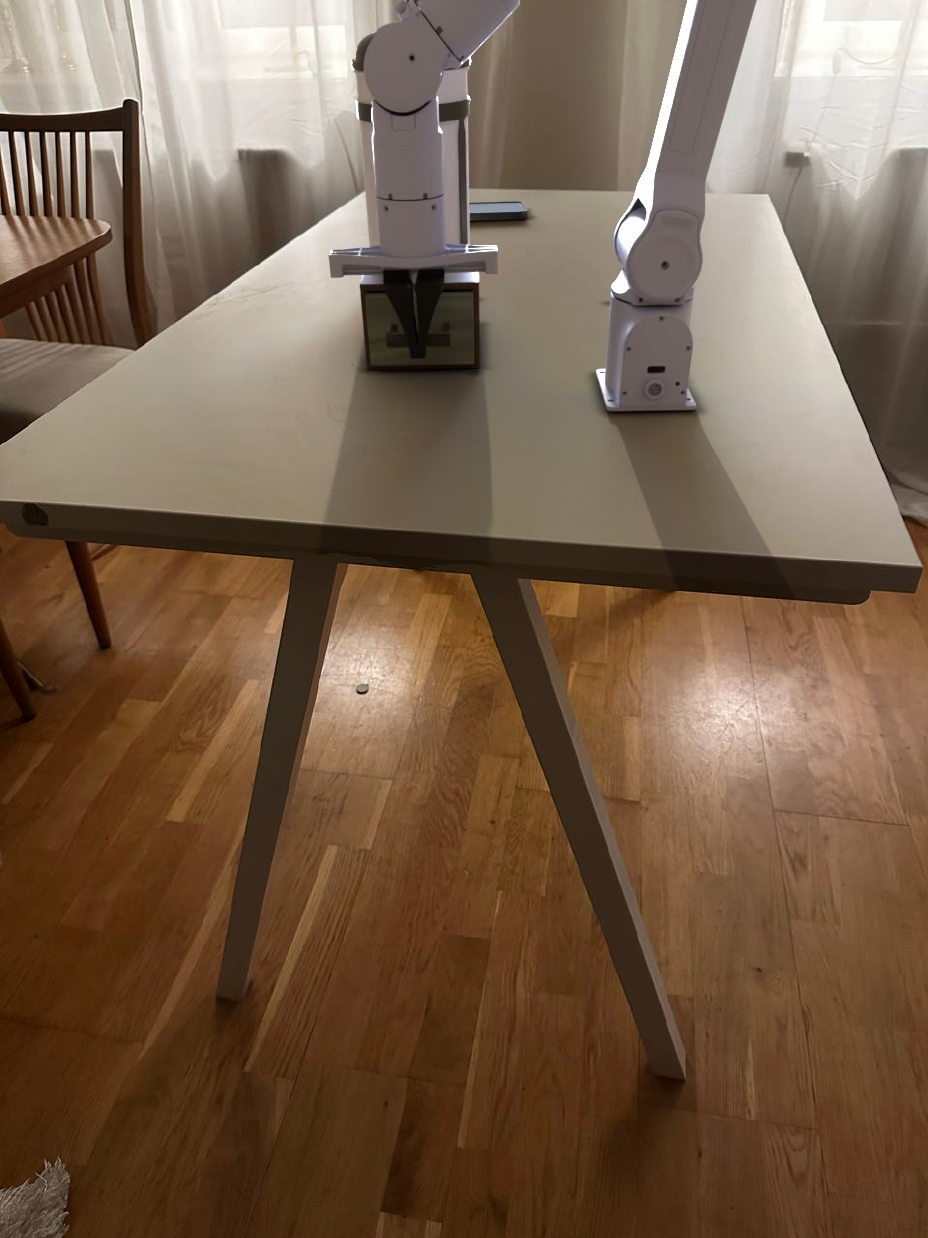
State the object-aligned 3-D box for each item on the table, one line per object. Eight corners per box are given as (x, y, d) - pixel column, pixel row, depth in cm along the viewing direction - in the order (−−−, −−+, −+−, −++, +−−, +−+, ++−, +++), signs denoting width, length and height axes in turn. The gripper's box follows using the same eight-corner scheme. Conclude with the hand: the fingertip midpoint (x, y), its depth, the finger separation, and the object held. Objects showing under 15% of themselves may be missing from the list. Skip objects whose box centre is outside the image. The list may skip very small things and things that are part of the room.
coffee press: (510, 285, 114) (512, -5, 96) (435, 319, 103) (423, 1, 86) (400, 266, 122) (384, -4, 104) (321, 297, 111) (288, 2, 94)
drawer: (474, 380, 86) (472, 309, 82) (366, 382, 86) (360, 311, 82) (473, 323, 99) (472, 260, 96) (381, 325, 100) (376, 261, 96)
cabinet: (480, 368, 91) (479, 281, 86) (366, 369, 91) (359, 284, 86) (479, 324, 102) (478, 246, 97) (378, 326, 102) (372, 248, 97)
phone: (528, 211, 142) (432, 213, 142) (528, 218, 143) (433, 221, 142) (523, 200, 148) (432, 203, 148) (523, 207, 149) (432, 210, 149)
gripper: (495, 183, 79) (496, 339, 87) (329, 188, 79) (344, 342, 87) (498, 199, 73) (498, 364, 81) (319, 203, 73) (336, 368, 81)
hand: (418, 355), depth 83 cm, fingers closed, pressing on drawer
